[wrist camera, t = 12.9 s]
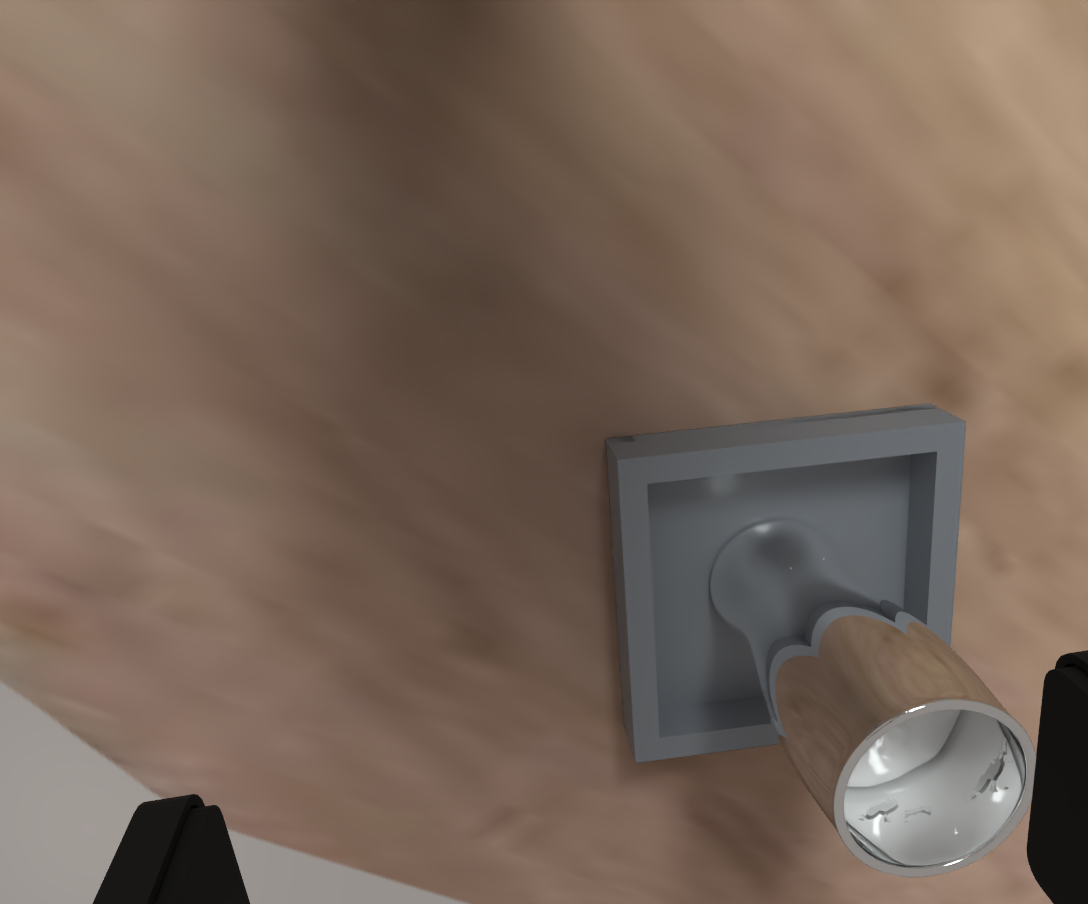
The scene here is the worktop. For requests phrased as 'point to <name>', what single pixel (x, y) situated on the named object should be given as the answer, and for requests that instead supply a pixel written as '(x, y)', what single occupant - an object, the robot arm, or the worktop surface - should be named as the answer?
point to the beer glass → (873, 707)
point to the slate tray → (743, 501)
